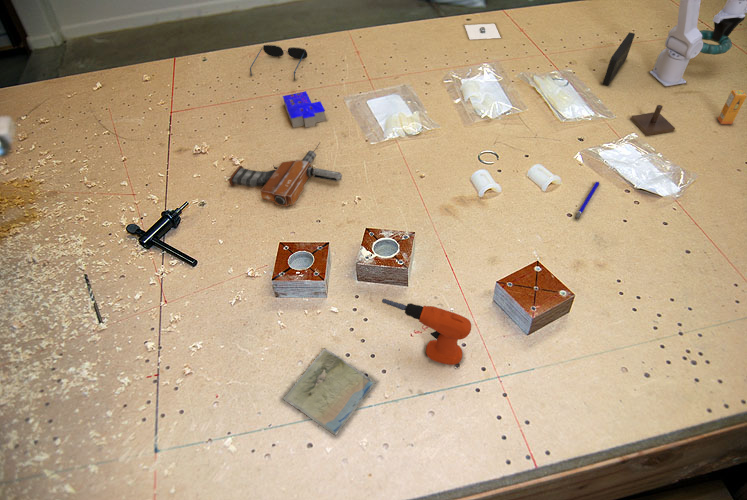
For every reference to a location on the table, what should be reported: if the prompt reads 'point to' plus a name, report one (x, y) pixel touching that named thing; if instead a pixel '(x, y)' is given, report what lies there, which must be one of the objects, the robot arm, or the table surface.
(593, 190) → the pencil
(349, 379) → the topographic map
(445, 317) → the toy drill
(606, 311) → the table surface
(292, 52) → the sunglasses
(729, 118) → the supplement box
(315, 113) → the blue grey stepped block
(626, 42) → the nameplate
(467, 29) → the white square panel
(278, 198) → the tool
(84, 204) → the table surface
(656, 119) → the stand
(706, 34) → the ring
